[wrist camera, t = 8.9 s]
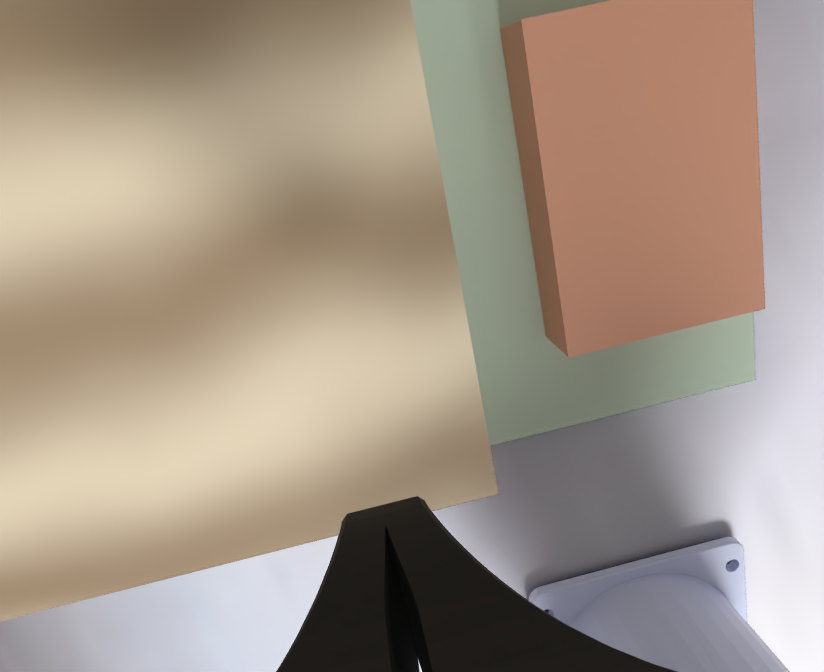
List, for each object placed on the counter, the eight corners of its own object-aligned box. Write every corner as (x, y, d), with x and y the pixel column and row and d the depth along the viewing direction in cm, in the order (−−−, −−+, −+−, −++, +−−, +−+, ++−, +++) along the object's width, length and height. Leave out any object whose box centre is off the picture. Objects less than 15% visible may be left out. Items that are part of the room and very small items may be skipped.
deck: (466, 431, 23) (498, 494, 19) (-33, 554, 22) (-103, 647, 18) (377, -41, 19) (396, -78, 15) (-260, 83, 17) (-416, 75, 14)
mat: (748, 375, 24) (755, 379, 24) (475, 443, 23) (478, 448, 23) (727, -129, 19) (735, -134, 19) (380, -63, 18) (382, -67, 18)
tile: (568, 357, 20) (545, 336, 22) (764, 308, 21) (726, 291, 23) (521, 19, 17) (499, 28, 19) (751, -30, 18) (708, -16, 20)
